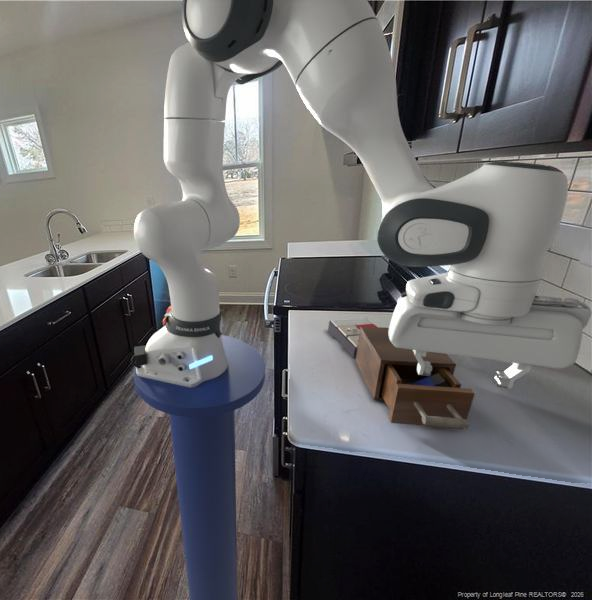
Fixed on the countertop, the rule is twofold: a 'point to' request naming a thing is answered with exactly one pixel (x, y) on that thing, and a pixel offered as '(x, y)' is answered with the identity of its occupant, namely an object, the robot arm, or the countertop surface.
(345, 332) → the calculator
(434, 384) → the blue and gray block
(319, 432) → the countertop surface
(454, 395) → the drawer
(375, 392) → the cabinet
